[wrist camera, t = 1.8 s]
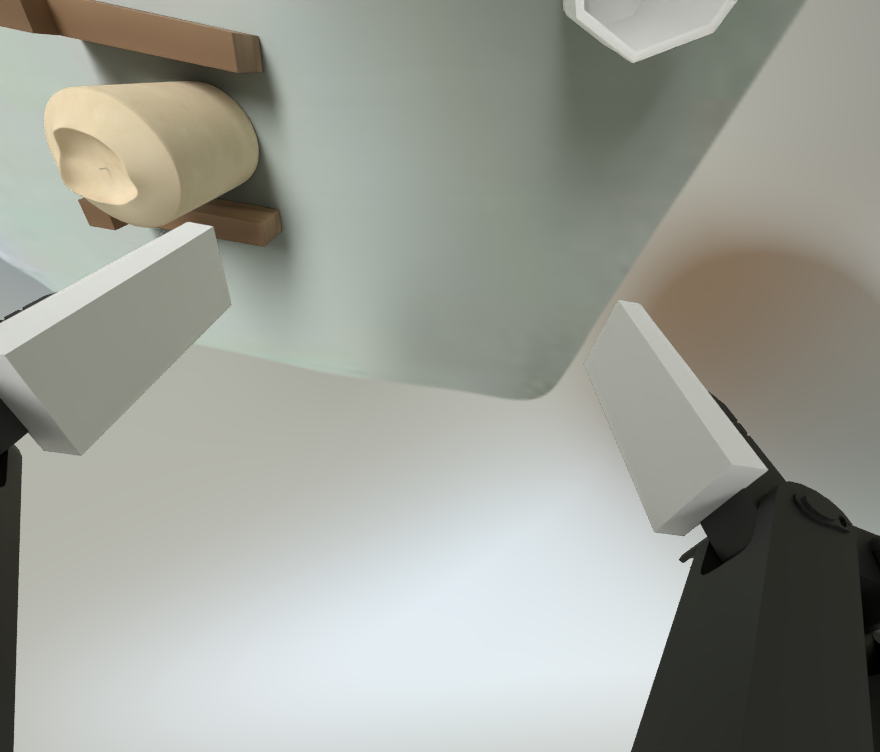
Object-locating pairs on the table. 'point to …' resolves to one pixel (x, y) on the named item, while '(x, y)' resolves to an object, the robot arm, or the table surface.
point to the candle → (150, 147)
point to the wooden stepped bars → (81, 17)
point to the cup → (647, 23)
